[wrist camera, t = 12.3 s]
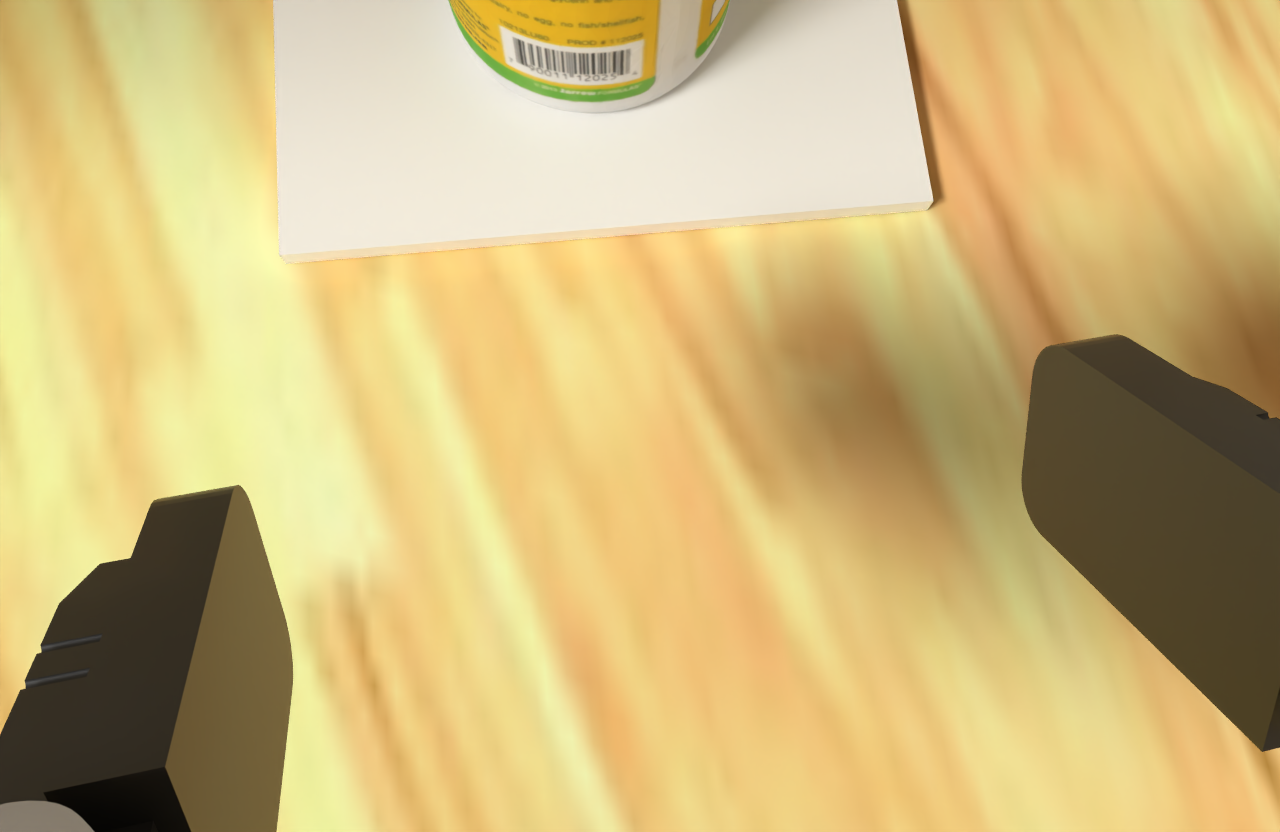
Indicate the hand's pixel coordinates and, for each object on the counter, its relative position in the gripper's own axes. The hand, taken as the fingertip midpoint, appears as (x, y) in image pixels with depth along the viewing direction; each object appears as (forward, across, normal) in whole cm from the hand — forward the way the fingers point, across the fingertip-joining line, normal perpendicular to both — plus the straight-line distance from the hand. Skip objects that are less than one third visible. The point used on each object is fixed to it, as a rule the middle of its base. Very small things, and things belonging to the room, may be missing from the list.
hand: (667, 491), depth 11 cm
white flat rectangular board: (+13, -2, -3) cm, 14 cm away
